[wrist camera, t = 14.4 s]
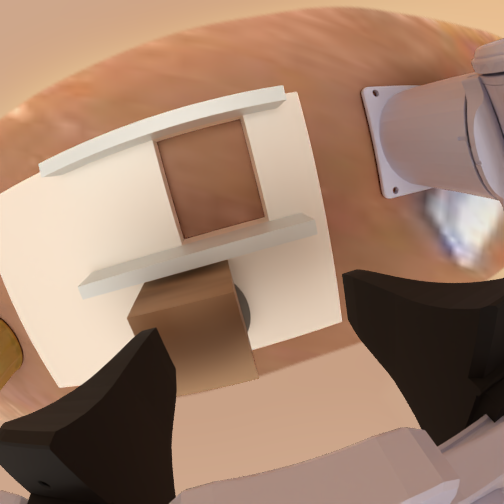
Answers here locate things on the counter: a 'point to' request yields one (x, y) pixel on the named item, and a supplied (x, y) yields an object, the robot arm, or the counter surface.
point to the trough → (199, 250)
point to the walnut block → (198, 327)
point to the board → (159, 245)
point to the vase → (8, 354)
